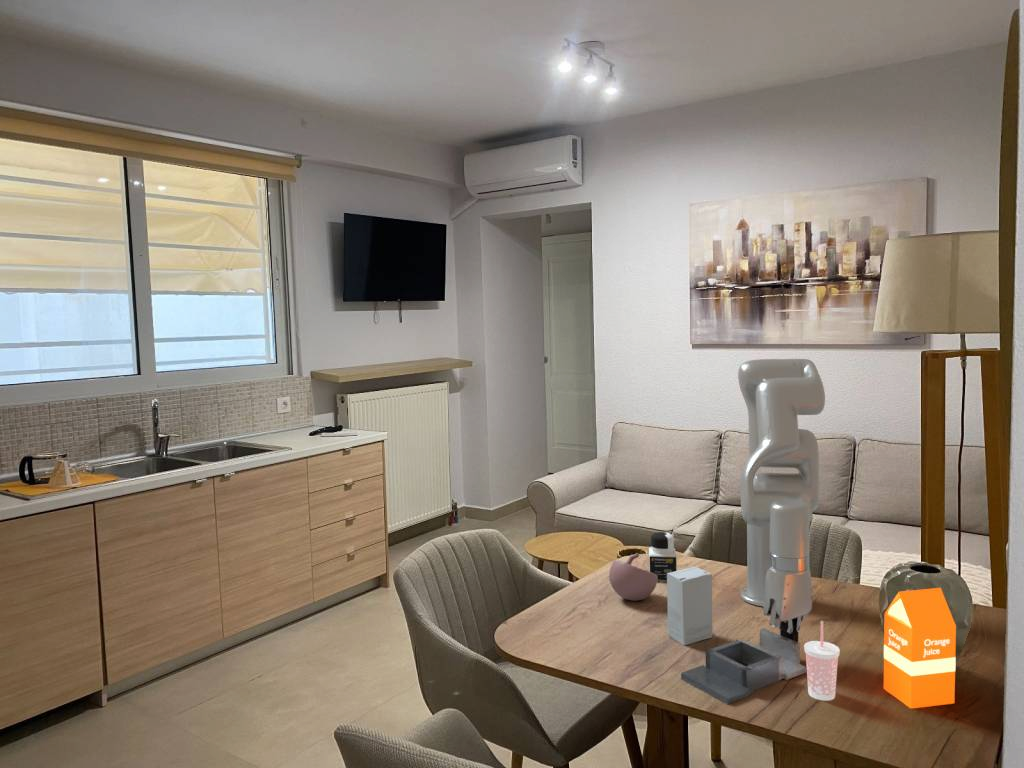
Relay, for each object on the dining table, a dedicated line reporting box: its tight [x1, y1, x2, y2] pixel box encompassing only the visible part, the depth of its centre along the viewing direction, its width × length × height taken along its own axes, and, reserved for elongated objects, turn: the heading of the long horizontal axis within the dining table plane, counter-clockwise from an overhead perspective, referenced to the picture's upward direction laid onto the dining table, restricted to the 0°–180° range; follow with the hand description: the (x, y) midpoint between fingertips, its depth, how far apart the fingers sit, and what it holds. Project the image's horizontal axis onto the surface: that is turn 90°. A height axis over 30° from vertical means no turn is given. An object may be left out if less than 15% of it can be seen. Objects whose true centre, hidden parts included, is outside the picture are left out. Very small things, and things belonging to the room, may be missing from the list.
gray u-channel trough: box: [737, 628, 807, 681], centre depth 151 cm, size 7×12×5 cm, turn 31°
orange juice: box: [883, 587, 957, 709], centre depth 137 cm, size 8×9×20 cm
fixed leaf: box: [680, 639, 780, 705], centre depth 146 cm, size 15×12×4 cm
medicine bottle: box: [648, 531, 678, 582], centre depth 205 cm, size 7×7×12 cm
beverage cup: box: [803, 620, 841, 702], centre depth 139 cm, size 6×6×14 cm
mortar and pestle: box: [608, 552, 658, 602], centre depth 189 cm, size 12×12×12 cm
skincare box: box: [666, 565, 713, 646], centre depth 165 cm, size 8×6×15 cm
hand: (789, 648), depth 154 cm, fingers closed
